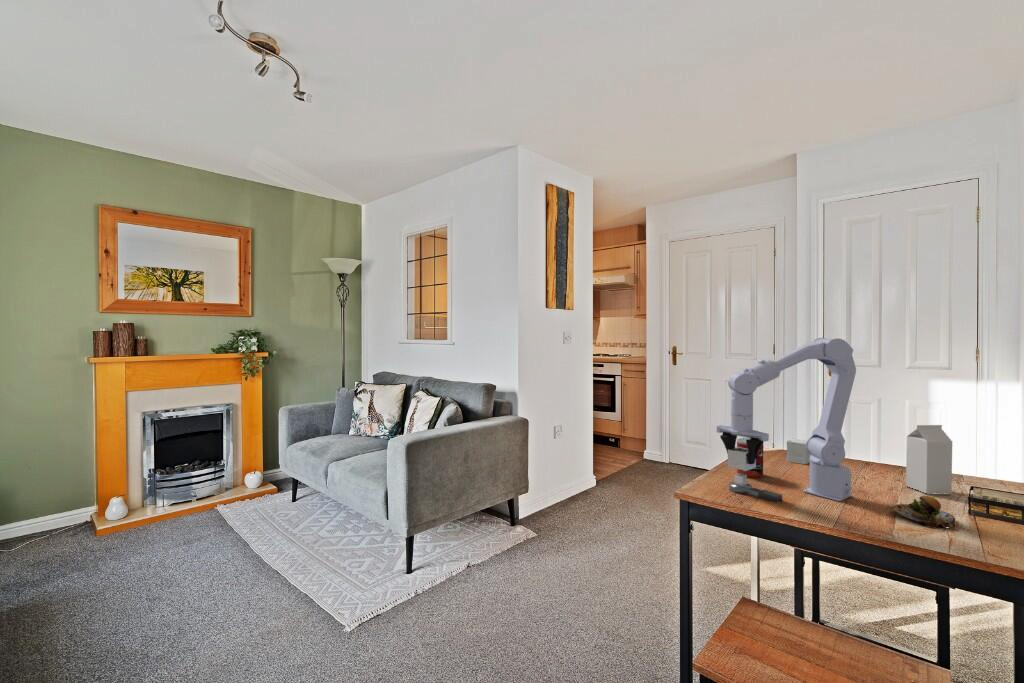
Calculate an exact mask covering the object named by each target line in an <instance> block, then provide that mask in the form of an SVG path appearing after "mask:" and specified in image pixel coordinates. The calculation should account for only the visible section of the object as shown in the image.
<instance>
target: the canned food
mask: <svg viewBox="0 0 1024 683" xmlns="http://www.w3.org/2000/svg"><path fill="white" fill-rule="evenodd" d="M749 439H751V438H747V437H740V438H737V439H736V447H741V448H746V449H748V447H747V443H746V440H749ZM737 473H741V474H745V475H747V479H748V478H749V479H760V478H762V477H763V476H764V443H763V444H762V445H761V447H760V449H759V451H758V453H757V456H756V468H754V469H750V470H747V471H743V470H739V469H736V474H737Z"/></svg>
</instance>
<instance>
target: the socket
mask: <svg viewBox="0 0 1024 683" xmlns="http://www.w3.org/2000/svg"><path fill="white" fill-rule="evenodd" d="M727 467H728V468H731V469H736V470H737V469H739V470H743V471H747V470H750V469H754V468H756V459H755V463H754V464H749V463H748V449H746V448H741V447H737V446H735V448H731V449H728V454H727Z"/></svg>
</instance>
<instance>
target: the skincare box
mask: <svg viewBox="0 0 1024 683" xmlns="http://www.w3.org/2000/svg"><path fill="white" fill-rule="evenodd" d="M806 442H807V440H805V439H799V438H791V439H788V440H786V462H790V463H794V464H795V463H796V464H801V465H807V464H810V454H809V453H808V452H807V450H806Z"/></svg>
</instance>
